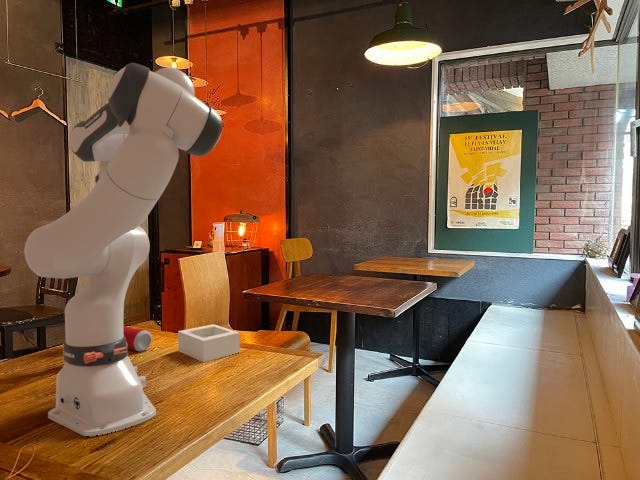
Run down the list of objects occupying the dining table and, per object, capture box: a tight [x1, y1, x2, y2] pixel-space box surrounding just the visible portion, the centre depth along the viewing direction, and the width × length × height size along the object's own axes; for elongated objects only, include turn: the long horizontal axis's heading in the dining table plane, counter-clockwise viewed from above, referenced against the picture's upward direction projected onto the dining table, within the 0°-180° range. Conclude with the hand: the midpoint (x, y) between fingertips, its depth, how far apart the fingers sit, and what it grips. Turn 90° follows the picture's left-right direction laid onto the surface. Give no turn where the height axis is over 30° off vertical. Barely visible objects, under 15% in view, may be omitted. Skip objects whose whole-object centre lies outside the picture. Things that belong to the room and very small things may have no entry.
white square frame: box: [177, 323, 241, 363], centre depth 137 cm, size 14×12×6 cm
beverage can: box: [123, 325, 153, 353], centre depth 140 cm, size 6×6×12 cm
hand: (118, 225), depth 133 cm, fingers open, 8 cm apart
